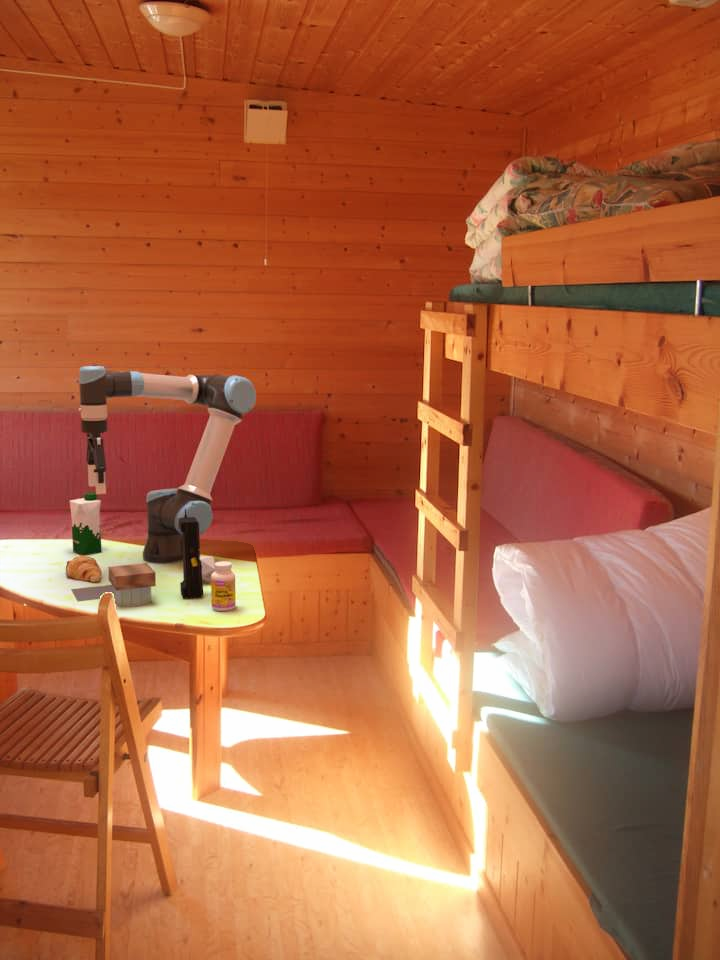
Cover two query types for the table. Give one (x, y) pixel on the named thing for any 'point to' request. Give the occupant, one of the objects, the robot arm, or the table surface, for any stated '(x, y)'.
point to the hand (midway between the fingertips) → (97, 489)
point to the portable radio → (191, 558)
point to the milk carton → (86, 524)
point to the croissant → (84, 569)
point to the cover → (132, 576)
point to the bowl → (133, 596)
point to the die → (207, 568)
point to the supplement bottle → (223, 587)
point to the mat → (91, 592)
